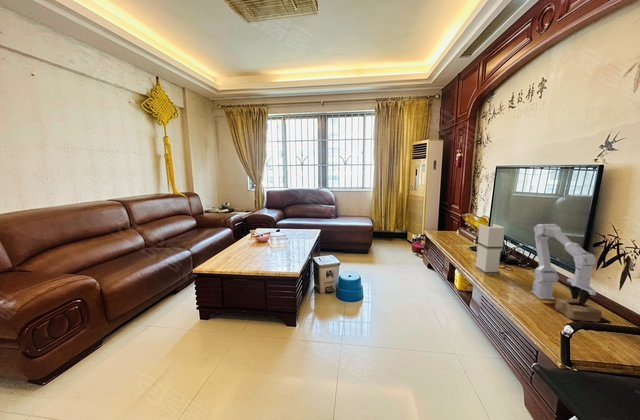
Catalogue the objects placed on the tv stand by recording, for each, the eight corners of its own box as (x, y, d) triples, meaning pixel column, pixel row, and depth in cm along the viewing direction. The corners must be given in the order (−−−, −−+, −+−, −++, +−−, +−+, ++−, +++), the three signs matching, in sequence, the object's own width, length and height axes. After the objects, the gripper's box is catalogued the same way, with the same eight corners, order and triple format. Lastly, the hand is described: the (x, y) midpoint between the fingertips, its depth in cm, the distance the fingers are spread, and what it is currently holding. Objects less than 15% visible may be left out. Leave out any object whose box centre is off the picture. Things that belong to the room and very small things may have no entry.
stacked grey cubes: (499, 274, 182) (504, 227, 176) (484, 274, 182) (489, 227, 176) (489, 268, 193) (494, 223, 187) (475, 268, 193) (479, 224, 187)
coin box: (554, 307, 139) (556, 297, 138) (579, 309, 137) (580, 299, 136) (572, 320, 127) (574, 310, 126) (599, 322, 126) (601, 311, 125)
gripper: (562, 270, 136) (558, 293, 139) (586, 282, 122) (581, 308, 125) (577, 271, 135) (573, 294, 138) (602, 283, 121) (598, 309, 124)
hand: (578, 301), depth 131 cm, fingers open, 4 cm apart
